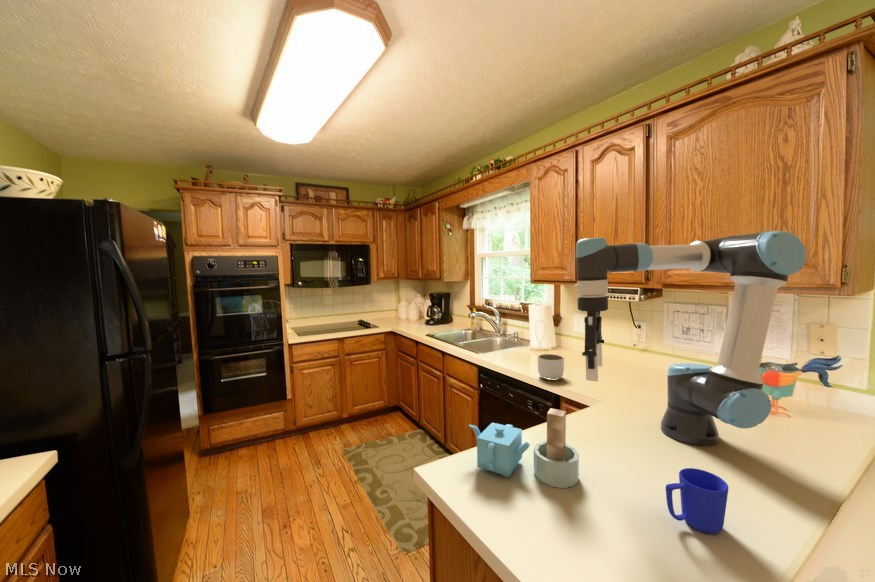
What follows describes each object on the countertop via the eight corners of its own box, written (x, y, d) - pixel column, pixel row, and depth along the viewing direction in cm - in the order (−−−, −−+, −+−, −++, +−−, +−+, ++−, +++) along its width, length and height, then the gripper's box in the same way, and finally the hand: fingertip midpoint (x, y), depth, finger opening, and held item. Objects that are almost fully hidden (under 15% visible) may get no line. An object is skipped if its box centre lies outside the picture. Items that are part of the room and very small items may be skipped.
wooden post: (565, 469, 90) (565, 411, 90) (562, 477, 87) (562, 416, 86) (549, 465, 92) (550, 408, 92) (546, 472, 89) (547, 413, 88)
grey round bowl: (581, 470, 92) (581, 447, 91) (574, 493, 82) (574, 468, 82) (540, 459, 97) (540, 437, 97) (529, 480, 88) (529, 456, 87)
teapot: (521, 491, 83) (520, 447, 83) (457, 470, 93) (456, 431, 92) (538, 460, 97) (538, 422, 96) (481, 444, 106) (480, 410, 106)
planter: (542, 373, 177) (542, 352, 177) (566, 376, 170) (566, 355, 169) (534, 379, 167) (534, 358, 167) (559, 384, 160) (559, 361, 159)
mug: (652, 513, 75) (653, 470, 74) (702, 509, 76) (703, 466, 75) (682, 543, 67) (683, 495, 66) (738, 537, 68) (739, 490, 67)
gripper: (583, 292, 103) (585, 359, 105) (570, 300, 82) (573, 385, 83) (610, 291, 99) (612, 361, 101) (604, 300, 78) (606, 389, 79)
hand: (594, 372), depth 92 cm, fingers open, 13 cm apart
